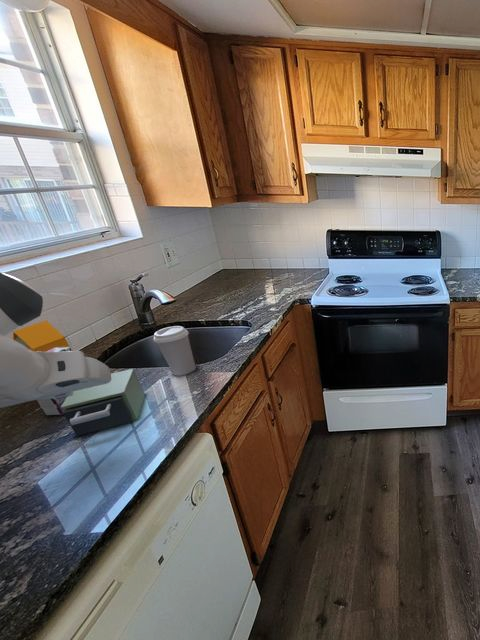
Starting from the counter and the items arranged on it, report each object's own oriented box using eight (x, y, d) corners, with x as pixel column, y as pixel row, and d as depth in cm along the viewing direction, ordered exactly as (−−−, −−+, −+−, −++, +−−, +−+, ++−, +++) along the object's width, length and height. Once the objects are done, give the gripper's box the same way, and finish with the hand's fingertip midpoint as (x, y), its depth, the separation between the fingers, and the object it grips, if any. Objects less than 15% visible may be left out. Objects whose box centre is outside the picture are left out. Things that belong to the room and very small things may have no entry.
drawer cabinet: (137, 419, 100) (124, 391, 96) (77, 436, 94) (60, 407, 91) (145, 394, 112) (133, 368, 108) (91, 407, 106) (77, 381, 102)
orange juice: (36, 387, 117) (2, 330, 108) (67, 373, 125) (37, 319, 116) (55, 389, 116) (22, 332, 107) (85, 375, 123) (56, 320, 115)
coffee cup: (188, 362, 130) (173, 323, 124) (207, 366, 127) (193, 326, 121) (161, 375, 122) (143, 335, 115) (181, 379, 119) (164, 338, 112)
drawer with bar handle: (129, 431, 94) (117, 408, 91) (70, 447, 89) (56, 423, 86) (140, 396, 109) (130, 376, 106) (90, 409, 104) (78, 387, 100)
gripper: (-57, 409, 64) (-1, 423, 76) (94, 376, 73) (123, 393, 85) (-58, 376, 66) (-3, 395, 77) (90, 348, 75) (119, 369, 87)
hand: (64, 394), depth 81 cm, fingers closed
